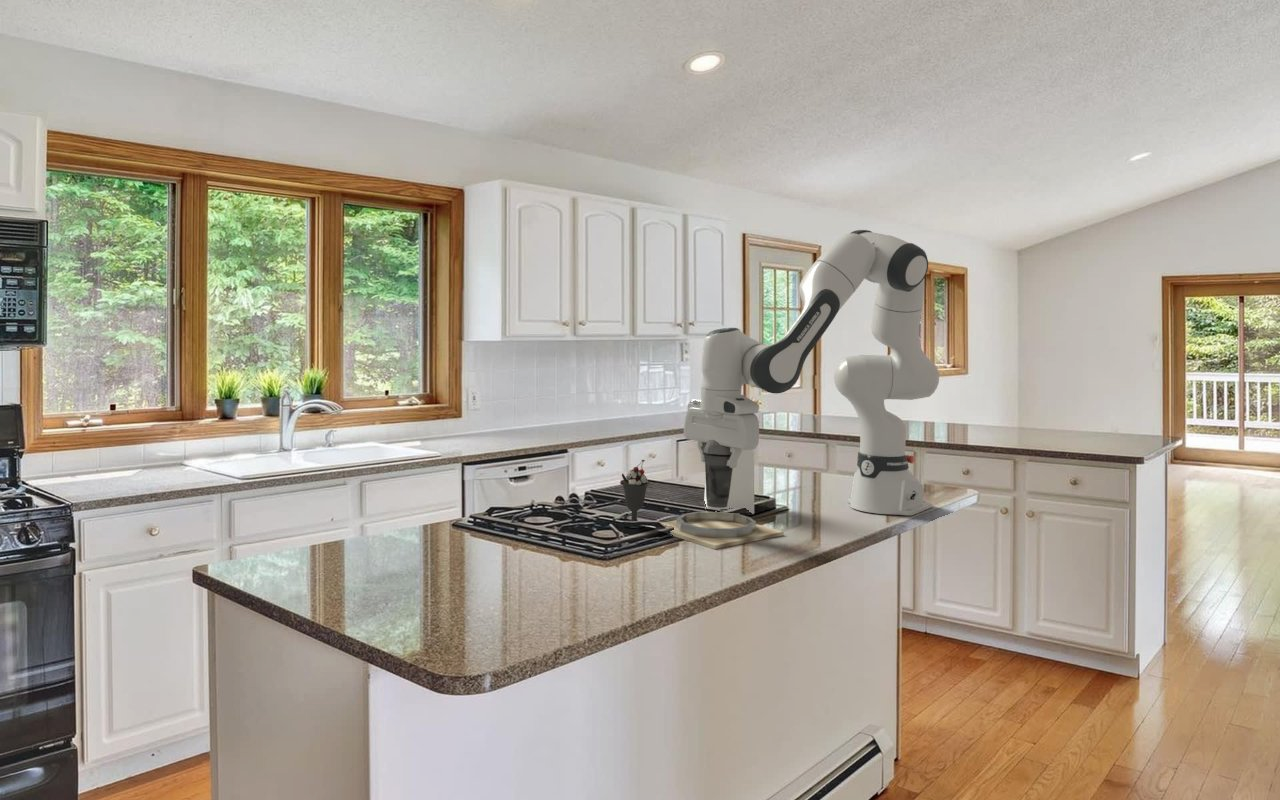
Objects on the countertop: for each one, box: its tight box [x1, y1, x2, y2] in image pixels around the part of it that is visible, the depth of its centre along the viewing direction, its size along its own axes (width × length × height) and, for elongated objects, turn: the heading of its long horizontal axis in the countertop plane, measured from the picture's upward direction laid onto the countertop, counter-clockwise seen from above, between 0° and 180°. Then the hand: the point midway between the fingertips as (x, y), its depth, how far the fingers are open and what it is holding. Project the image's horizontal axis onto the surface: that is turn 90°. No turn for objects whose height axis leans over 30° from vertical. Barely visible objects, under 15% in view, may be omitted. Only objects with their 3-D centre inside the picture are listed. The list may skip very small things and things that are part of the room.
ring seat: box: [661, 511, 785, 550], centre depth 191 cm, size 21×21×3 cm
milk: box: [703, 449, 755, 515], centre depth 215 cm, size 12×12×26 cm
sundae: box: [619, 459, 650, 522], centre depth 194 cm, size 7×7×15 cm
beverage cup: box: [703, 440, 733, 508], centre depth 190 cm, size 7×7×20 cm
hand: (718, 464), depth 190 cm, fingers closed on beverage cup, 7 cm apart
